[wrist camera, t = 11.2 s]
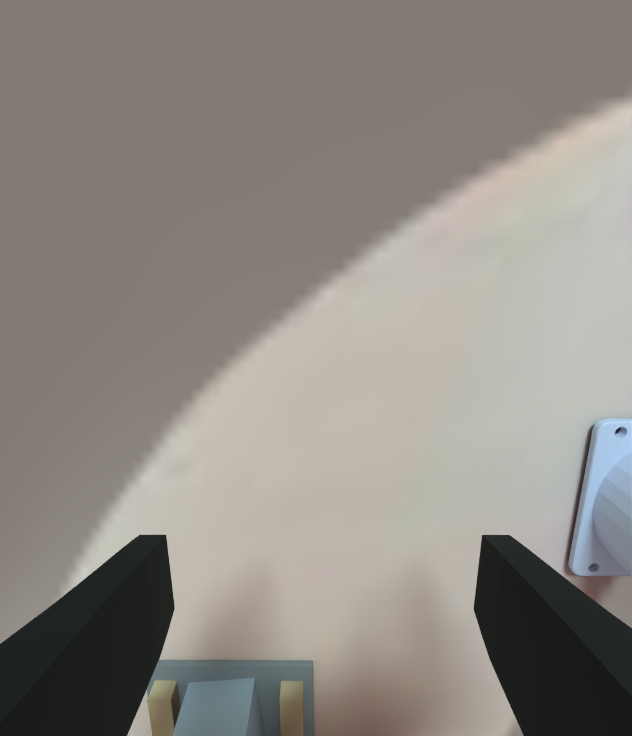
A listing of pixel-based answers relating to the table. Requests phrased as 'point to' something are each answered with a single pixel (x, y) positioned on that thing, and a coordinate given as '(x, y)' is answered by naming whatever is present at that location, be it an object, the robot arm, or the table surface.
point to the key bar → (221, 709)
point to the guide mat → (263, 672)
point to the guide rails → (168, 707)
